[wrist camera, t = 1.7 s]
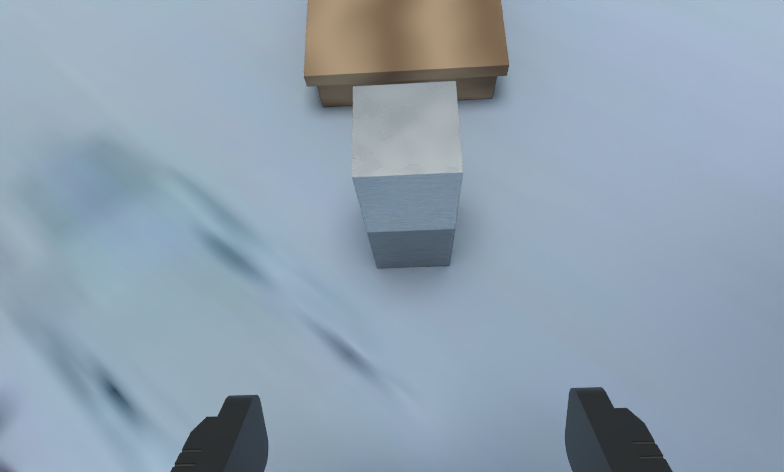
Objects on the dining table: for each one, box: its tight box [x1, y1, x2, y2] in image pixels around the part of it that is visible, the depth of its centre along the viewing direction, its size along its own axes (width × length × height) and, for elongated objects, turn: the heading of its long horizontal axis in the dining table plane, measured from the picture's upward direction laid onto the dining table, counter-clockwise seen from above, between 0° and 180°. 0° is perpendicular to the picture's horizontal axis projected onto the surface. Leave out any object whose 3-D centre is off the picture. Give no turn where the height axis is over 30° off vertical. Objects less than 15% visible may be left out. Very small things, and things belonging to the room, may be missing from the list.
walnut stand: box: [304, 0, 509, 107], centre depth 37 cm, size 13×13×4 cm
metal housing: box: [352, 81, 463, 268], centre depth 27 cm, size 4×4×12 cm
